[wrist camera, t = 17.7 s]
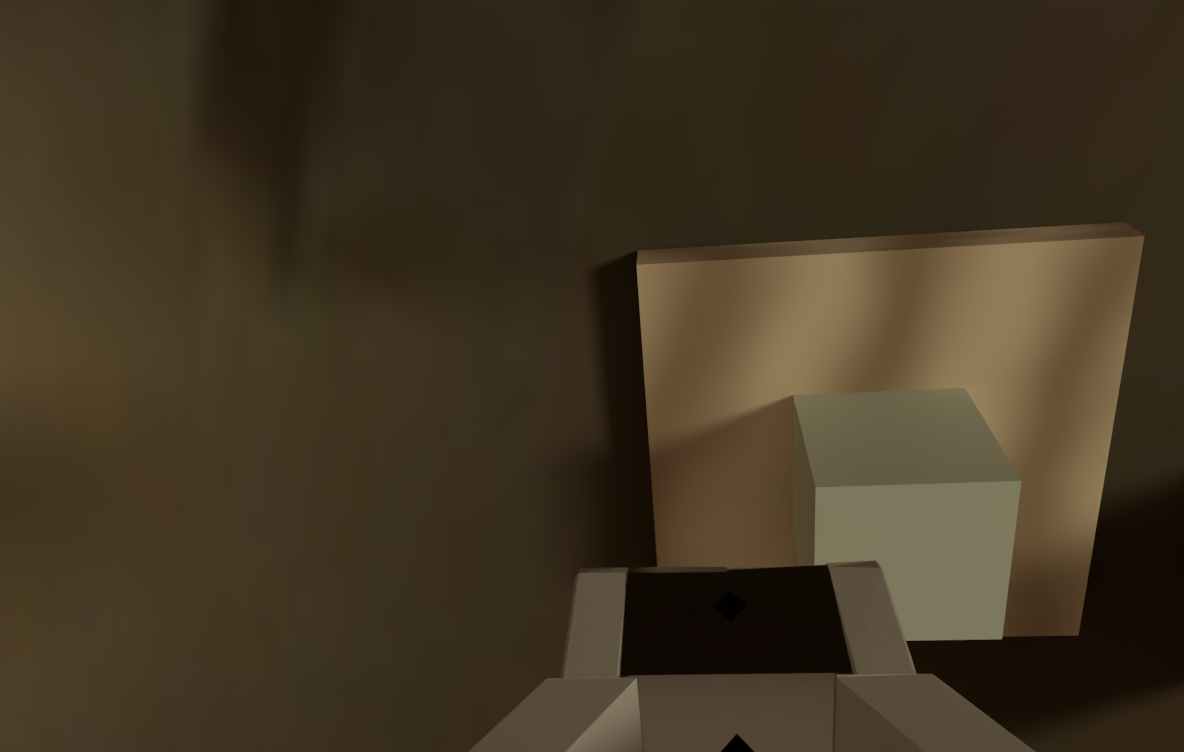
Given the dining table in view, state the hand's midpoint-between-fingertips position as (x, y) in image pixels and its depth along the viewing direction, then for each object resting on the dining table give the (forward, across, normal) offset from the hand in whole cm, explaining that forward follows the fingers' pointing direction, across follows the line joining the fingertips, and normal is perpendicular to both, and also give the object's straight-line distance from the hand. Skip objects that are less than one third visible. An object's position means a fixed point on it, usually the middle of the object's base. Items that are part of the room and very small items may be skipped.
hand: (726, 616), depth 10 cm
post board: (+24, -6, +12) cm, 28 cm away
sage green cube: (+23, -6, +12) cm, 26 cm away
